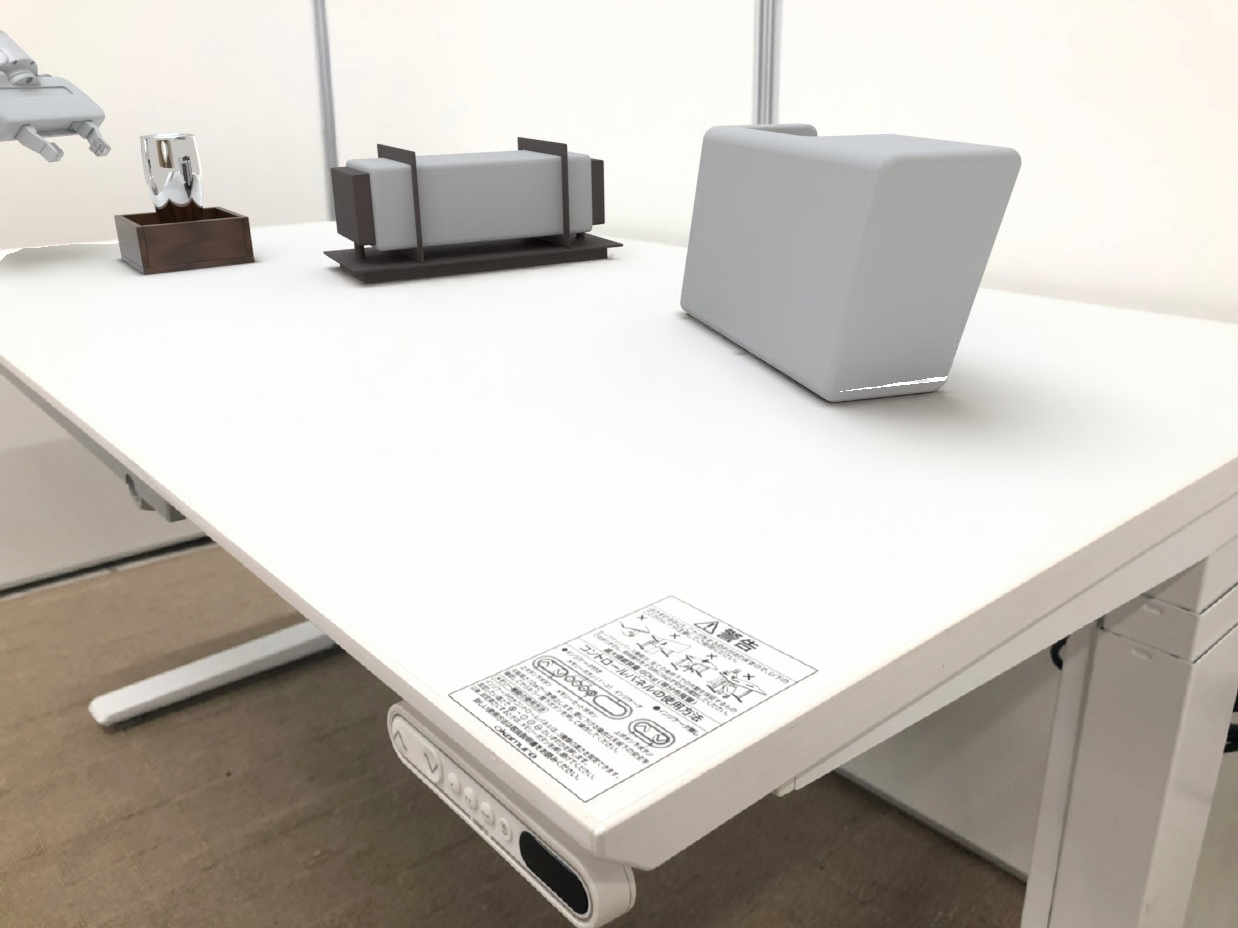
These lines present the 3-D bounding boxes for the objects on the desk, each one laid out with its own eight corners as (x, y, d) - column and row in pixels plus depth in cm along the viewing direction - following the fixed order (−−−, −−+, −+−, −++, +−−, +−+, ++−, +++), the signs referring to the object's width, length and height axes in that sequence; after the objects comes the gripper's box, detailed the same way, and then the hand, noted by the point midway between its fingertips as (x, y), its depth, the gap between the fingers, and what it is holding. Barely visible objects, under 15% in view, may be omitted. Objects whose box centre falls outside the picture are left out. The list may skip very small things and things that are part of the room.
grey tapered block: (909, 496, 87) (1030, 151, 68) (794, 512, 85) (886, 157, 65) (771, 302, 109) (833, -1, 90) (677, 309, 107) (720, -1, 87)
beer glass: (171, 250, 142) (152, 133, 137) (222, 249, 142) (205, 133, 137) (148, 259, 136) (127, 137, 130) (202, 258, 136) (183, 136, 130)
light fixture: (622, 140, 130) (341, 155, 115) (624, 259, 135) (355, 288, 120) (570, 134, 143) (311, 146, 128) (573, 243, 148) (324, 267, 133)
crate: (144, 274, 130) (135, 227, 128) (121, 259, 141) (113, 215, 139) (254, 262, 137) (248, 216, 135) (225, 248, 148) (219, 206, 146)
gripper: (43, 92, 145) (119, 166, 147) (-74, 96, 126) (15, 180, 128) (65, 57, 143) (143, 133, 145) (-50, 55, 124) (40, 142, 126)
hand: (82, 155), depth 136 cm, fingers open, 8 cm apart
